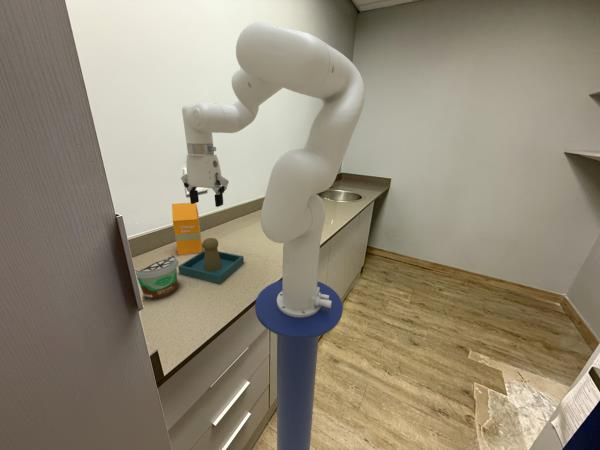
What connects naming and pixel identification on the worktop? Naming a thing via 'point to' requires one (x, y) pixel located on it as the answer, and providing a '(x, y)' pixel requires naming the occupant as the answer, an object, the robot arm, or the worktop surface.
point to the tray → (196, 270)
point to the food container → (159, 278)
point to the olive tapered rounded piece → (211, 255)
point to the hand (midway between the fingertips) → (207, 204)
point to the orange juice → (186, 228)
